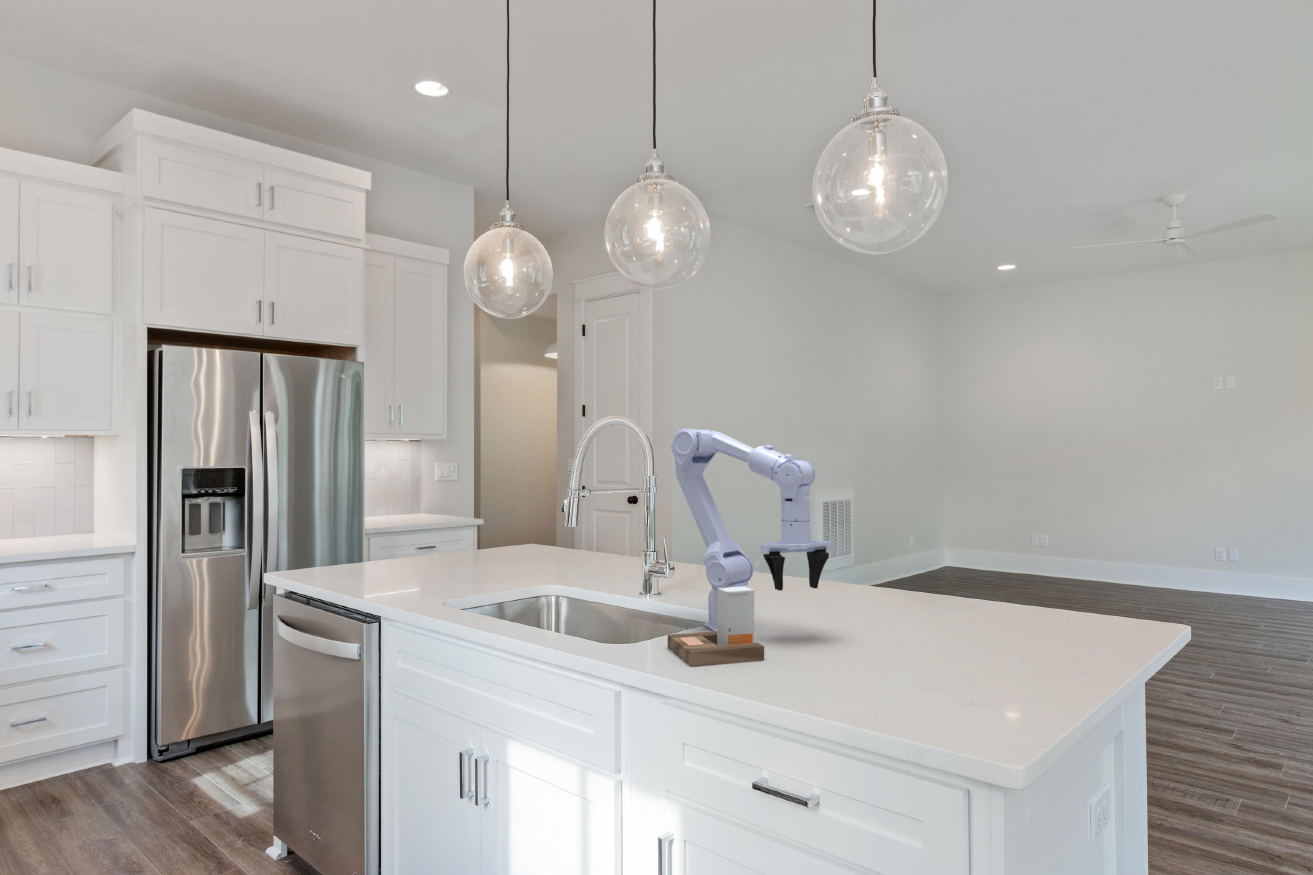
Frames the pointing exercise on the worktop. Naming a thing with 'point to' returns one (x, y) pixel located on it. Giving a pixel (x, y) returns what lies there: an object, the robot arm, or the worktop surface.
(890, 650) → the worktop surface
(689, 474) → the robot arm
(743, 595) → the skincare box
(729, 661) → the rack board
